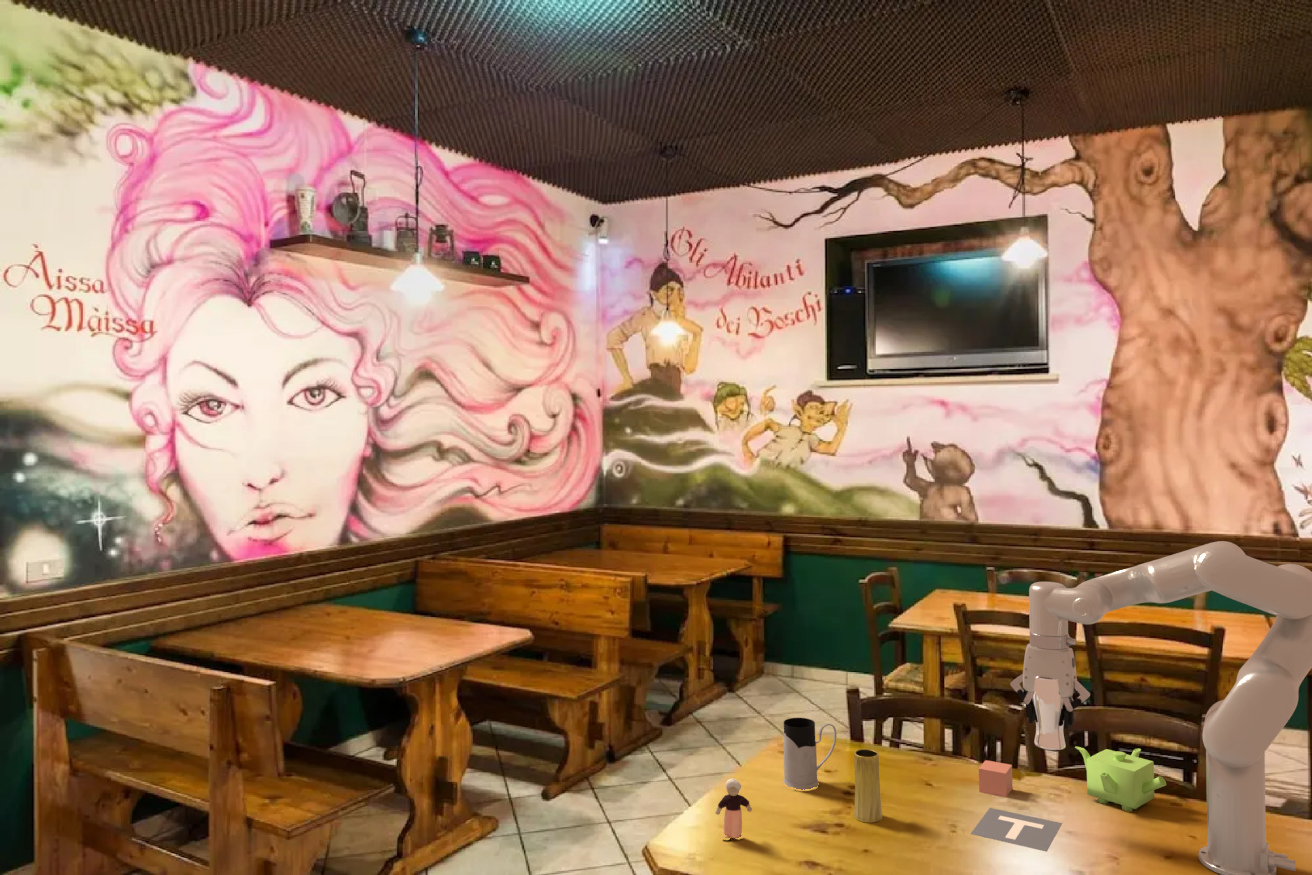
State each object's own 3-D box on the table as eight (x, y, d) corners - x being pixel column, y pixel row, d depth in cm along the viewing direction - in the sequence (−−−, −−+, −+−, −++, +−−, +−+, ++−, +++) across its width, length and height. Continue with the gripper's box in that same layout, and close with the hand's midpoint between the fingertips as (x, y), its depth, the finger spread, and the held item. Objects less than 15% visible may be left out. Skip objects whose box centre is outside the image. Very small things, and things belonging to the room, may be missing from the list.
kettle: (1075, 788, 212) (1074, 740, 212) (1138, 789, 211) (1137, 741, 211) (1100, 815, 197) (1099, 764, 197) (1168, 816, 196) (1167, 765, 196)
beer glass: (1071, 751, 189) (1070, 680, 188) (1035, 749, 190) (1034, 678, 190) (1063, 740, 195) (1063, 671, 195) (1029, 738, 197) (1028, 669, 197)
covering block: (1012, 790, 212) (1011, 764, 212) (1006, 799, 207) (1005, 773, 207) (986, 785, 216) (985, 760, 216) (979, 794, 211) (978, 768, 211)
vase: (850, 820, 199) (849, 755, 199) (858, 809, 204) (856, 746, 204) (878, 825, 196) (876, 759, 196) (885, 813, 202) (883, 750, 201)
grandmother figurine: (720, 844, 189) (719, 784, 189) (714, 836, 193) (713, 777, 193) (755, 839, 191) (753, 779, 191) (748, 831, 195) (746, 772, 195)
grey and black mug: (776, 780, 222) (774, 719, 222) (828, 771, 227) (826, 712, 226) (792, 793, 214) (790, 730, 214) (846, 784, 218) (844, 722, 218)
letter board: (1062, 824, 194) (1062, 822, 194) (1046, 853, 181) (1046, 851, 181) (989, 809, 202) (989, 807, 202) (970, 835, 190) (970, 833, 190)
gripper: (1097, 642, 190) (1097, 727, 191) (1011, 632, 200) (1012, 712, 201) (1089, 650, 184) (1090, 738, 185) (1001, 639, 194) (1002, 722, 195)
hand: (1049, 724), depth 193 cm, fingers closed on beer glass, 6 cm apart
